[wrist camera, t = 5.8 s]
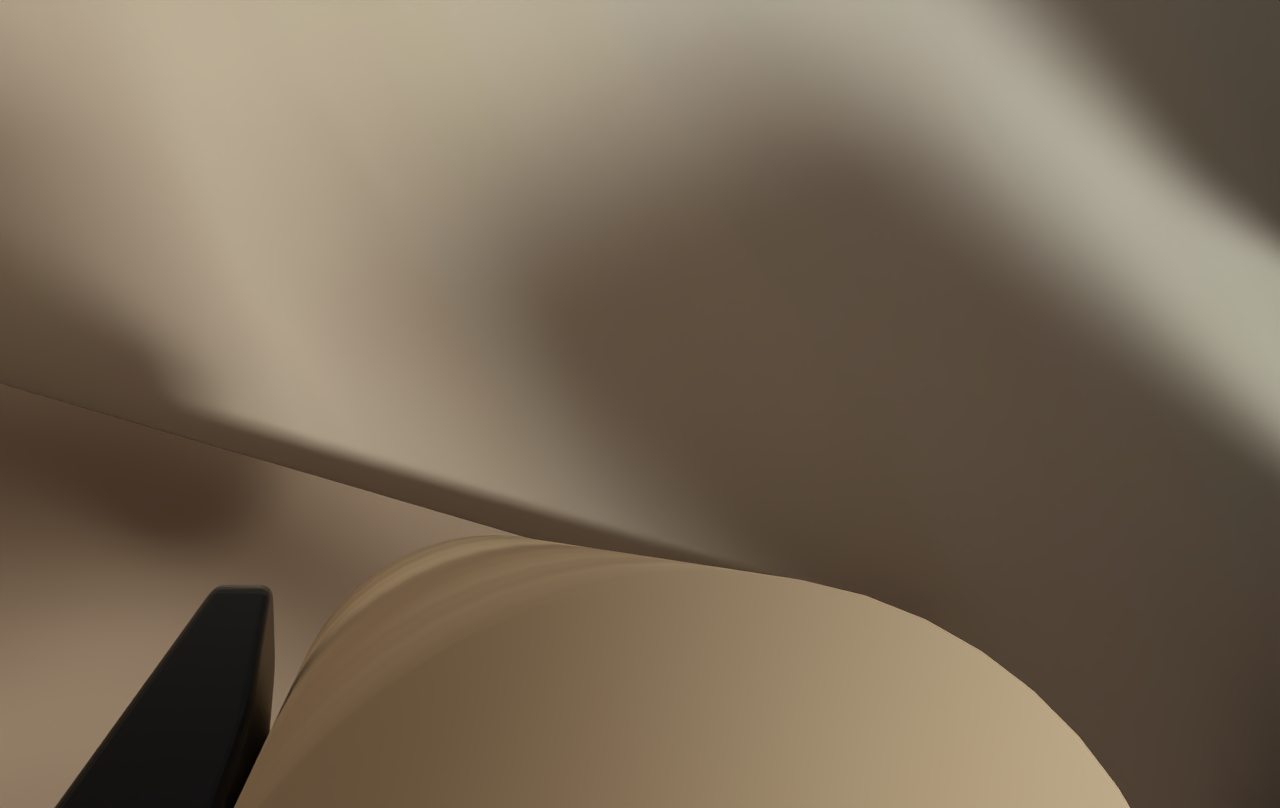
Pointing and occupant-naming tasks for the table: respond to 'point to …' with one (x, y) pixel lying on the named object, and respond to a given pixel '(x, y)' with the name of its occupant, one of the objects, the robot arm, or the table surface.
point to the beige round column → (650, 695)
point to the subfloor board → (155, 568)
